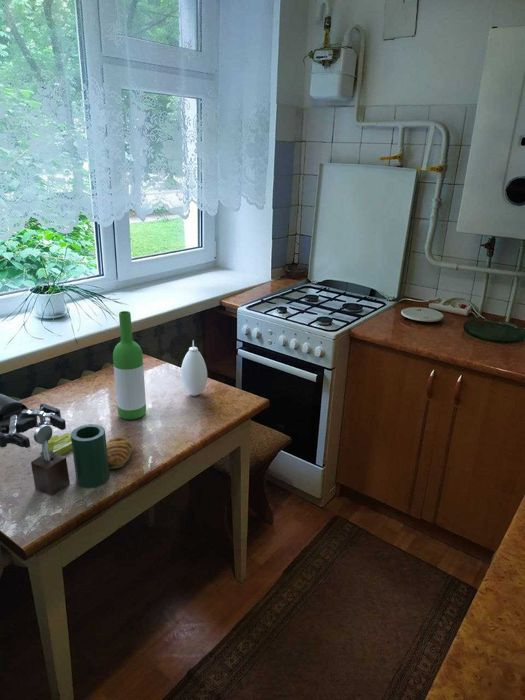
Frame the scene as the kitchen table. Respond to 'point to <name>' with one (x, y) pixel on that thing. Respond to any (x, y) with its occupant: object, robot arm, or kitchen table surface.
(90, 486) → the green hollow tube
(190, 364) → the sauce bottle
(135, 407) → the wine bottle
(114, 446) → the pastry
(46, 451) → the spoon
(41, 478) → the spoon stand
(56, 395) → the kitchen table surface
